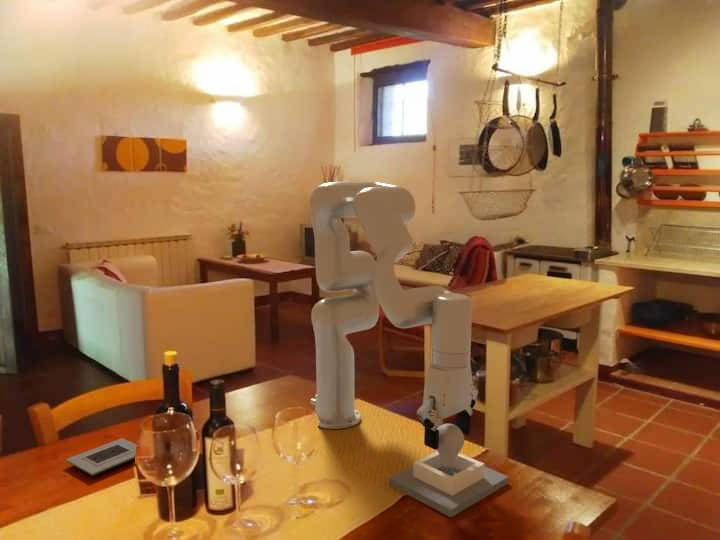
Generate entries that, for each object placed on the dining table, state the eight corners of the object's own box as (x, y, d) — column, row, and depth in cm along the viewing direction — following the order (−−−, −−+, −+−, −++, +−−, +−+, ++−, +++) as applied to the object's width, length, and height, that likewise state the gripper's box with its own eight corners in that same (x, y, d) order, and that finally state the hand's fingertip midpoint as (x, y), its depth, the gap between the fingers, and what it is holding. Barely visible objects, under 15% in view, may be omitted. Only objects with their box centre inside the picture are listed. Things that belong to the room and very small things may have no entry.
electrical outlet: (92, 483, 123) (91, 472, 122) (66, 468, 129) (65, 457, 129) (149, 459, 133) (148, 449, 133) (122, 446, 139) (122, 436, 139)
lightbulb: (454, 467, 125) (455, 417, 123) (468, 481, 119) (470, 428, 117) (427, 471, 123) (428, 420, 121) (440, 486, 117) (441, 432, 116)
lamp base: (388, 484, 121) (388, 463, 120) (446, 456, 133) (446, 437, 132) (450, 517, 109) (451, 494, 109) (508, 483, 121) (508, 462, 121)
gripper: (463, 344, 126) (459, 421, 129) (405, 361, 114) (403, 446, 117) (493, 352, 120) (488, 433, 123) (436, 372, 109) (433, 460, 112)
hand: (447, 439), depth 120 cm, fingers open, 9 cm apart
